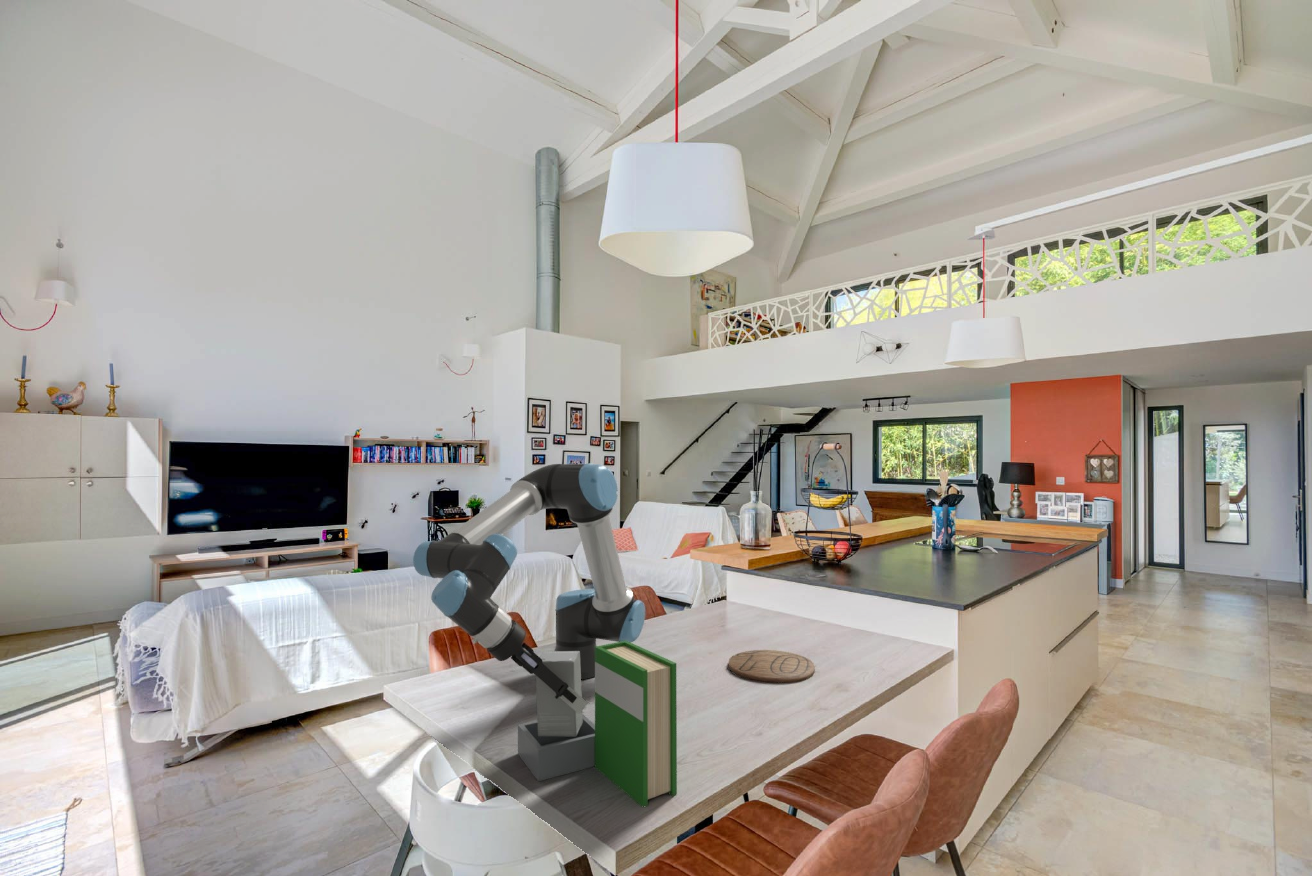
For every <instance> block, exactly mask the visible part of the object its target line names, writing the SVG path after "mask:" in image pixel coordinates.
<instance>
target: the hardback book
mask: <svg viewBox="0 0 1312 876" xmlns="http://www.w3.org/2000/svg"><path fill="white" fill-rule="evenodd" d="M677 716H678V715H677V662H674V661H672V660H670V659H668V658H665V657H664V656H662V655H659V654H657V653H654V652H652V651H650V650H647V649H645V648H644V647H641V646H640V645H637V644H634V643H633V642H628V641H622V642H613V643H612V642H611V643H608V644H603V645H597V646H596V647H595V677H594V725H595V766H594V768H595V769H596V770H598V771H599V772H600V773H601V774H603V775H604V776H605V778H608V779H609V780H610V781H611V782H612V783H613V784H615V785H616V786H617V787H618V788H619V789H620V790H622V791H623V792H624V793H626V795H628V796H629V797H630V798H632V799H633V800H634V801H635V802H636V803H638V804H639V805H640V806H641V807H642V806H643V807H642V808H645V807H644V806H646V807H648V806H647V805H649V804H648V803H649V801H648V800H650V799H653V798H656V797H658V796H661V795H664V794H667V793H668V792H669V793H670V794H669V793H668V794H669V795H671V796H672V795H674V796H677V795H676V794H678V784H677V783H678V779H677V778H678V777H677V776H678V775H677V774H678V771H677V770H678V769H677V768H678V766H677V764H678V761H677V760H678V759H677V757H678V755H677V754H678V753H677V751H678V750H677V749H678V747H677V746H678V744H677V743H678V739H677V737H678V736H677V734H678V733H677V730H678V729H677V728H678V725H677V723H678V722H677Z"/></svg>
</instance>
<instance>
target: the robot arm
mask: <svg viewBox="0 0 1312 876" xmlns="http://www.w3.org/2000/svg"><path fill="white" fill-rule="evenodd" d="M618 490H619V489H618V484H617V480H616V477H615V475H614V473H613V471H611V469H610V468H609V467H607V466H605V465H603V464H595V463H591V462H590V463H583V464H582V463H574V464H573V463H570V464H569V463H554V464H549V465H545V466H542V467H540V468H538V469H536V470H534V471H532V472H530V473H528V474H526V475H524V476H523V477H521V478H519V479H518V480H517V481H515V482H514V483H513V484H512V485H511V486H510V489H509V491H508V492H506V493H505V494H504V495H503V496H501V497H500V498H498V499H497V500H496V501H494V502H493V503H491V504H490V505H488V506H487V507H485V508H484V509H482V510H481V511H480V512H479V513H477V514H476V515H474V516H473V517H472V518H470V519H469V520H467V521H466V522H464V523H463V524H462V525H460V526H458V527H457V528H455V530H453V531H452V532H450V533H449V534H448V535H446V536H445V537H443V538H441V539H440V540H438V541H436V540H431V541H428V540H427V541H424V542H421V543H420V544H418V546H417V547H416V549H415V550H414V553H413V558H412V559H413V560H412V563H413V567H414V570H415V572H416V573H417V574H419V575H421V576H422V577H423V576H424V577H429V578H433V579H441V580H440V581H439V582H438V583H437V584H436V586H435V587H434V588H433V590H432V593H431V597H430V598H431V601H432V603H433V604H434V605H435V606H436V608H437V609H438V610H439V611H440V612H441V613H443V615H444V616H445V617H447V618H449V619H450V620H451V621H452V622H453V623H455V624H456V625H457V626H458V627H459V628H461V630H463V631H464V632H465V633H467V635H469V637H471V638H472V640H471V642H472V644H475V645H476V644H477V643H478V644H479V645H480V646H482V648H484V649H486V651H487V653H489V654H490V655H492V656H493V657H494V658H495V659H496V660H497V661H499V662H504V661H507V660H508V659H511V660H512V661H513V662H514V663H515V664H517V666H519V667H520V668H521V667H522V668H523V669H524V670H525V671H527V672H528V673H529V674H530V675H533V674H534V675H535V677H536V676H537V677H538V678H540V679H541V680H542V681H543V682H544V683H545V684H546V685H548V686H549V687H550V688H551V689H552V690H553V691H554V692H555V693H556V696H555V698H556V699H558V697H560V698H561V699H562V700H563V701H564V702H566V703H567V704H568V705H569V706H570V707H571V708H572V709H574V710H575V711H576V712H577V713H578V714H579V715H580V713H581V712H582V713H583V711H584V710H585V708H586V707H587V706H588V704H589V702H588V701H586V700H585V698H584V697H583V696H582V697H581V696H580V695H579V694H577V693H576V692H575V691H574V690H573V689H572V688H571V687H570V686H568V684H567V683H565V682H563V681H562V680H561V679H560V678H559V677H558V676H556V675H555V674H554V673H553V672H552V671H551V670H550V669H549V668H547V667H546V666H545V665H544V664H543V663H542V659H541V658H540V655H538V654H537V653H535V651H534V649H533V648H532V647H530V646H529V645H528V644H527V643H526V642H524V641H525V638H526V635H527V634H526V630H525V628H523V627H522V626H521V625H520V624H519V623H518V622H517V621H515V620H514V619H512V616H511V615H510V614H509V613H508V612H506V611H505V610H504V609H503V608H502V607H501V606H500V605H498V604H497V603H496V602H495V601H494V600H493V599H492V596H493V594H494V592H496V590H497V588H498V587H499V586H500V584H501V582H502V581H503V579H504V578H505V576H506V575H507V573H508V572H509V571H510V570H511V569H512V565H513V563H514V562H515V560H516V558H517V555H518V548H517V547H516V546H515V543H514V542H513V541H512V540H511V539H510V538H508V536H507V537H506V536H505V535H504V534H507V532H508V531H510V530H511V529H512V528H514V527H515V526H516V525H517V524H519V523H520V522H521V521H523V520H524V519H525V518H527V517H528V516H534V515H536V514H537V513H539V512H540V511H542V510H545V509H547V510H548V509H565V510H567V513H568V517H569V520H570V521H571V522H572V523H573V524H576V525H577V528H578V529H577V530H578V533H579V536H580V540H581V543H582V547H583V551H584V555H585V559H586V563H587V567H588V570H589V574H590V578H591V582H592V585H593V586H592V587H593V589H592V588H584V589H582V588H581V589H576V590H570V591H566V592H562V593H561V594H559V595H558V596H557V598H556V600H555V601H556V602H555V609H554V610H555V647H554V650H553V651H580V667H581V679H582V680H587V678H588V679H591V678H595V647H596V646H598V645H597V640H604V641H611V642H615V643H617V642H622V641H628V642H630V643H634V642H635V641H637V639H638V638H639V637H640V635H641V633H642V630H643V627H644V625H645V618H646V606H645V603H644V602H643V601H642V600H640V599H635V596H634V594H633V593H634V592H633V591H632V589H631V588H630V587H629V586H626V582H625V579H624V578H625V577H624V574H623V570H622V565H621V561H620V557H619V553H618V549H617V545H616V541H615V535H614V533H613V532H614V531H613V528H612V522H611V519H610V515H611V513H612V512H613V511H614V510H613V509H614V507H615V506H616V502H617V500H618V494H617V492H618Z"/></svg>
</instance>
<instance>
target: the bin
mask: <svg viewBox="0 0 1312 876" xmlns="http://www.w3.org/2000/svg"><path fill="white" fill-rule="evenodd" d="M582 716H583V723H582V725H581V727H580V729H579V731H578V734H577V736H576V737H554V736H538V722H537V720H533V721H528V722H524V723H520V724H518V725H517V755H518V756H519V757H520V759H521V760H522V761H523V763H524V764H525V765H526V767H527V768H528V770H529V771H530V772H531V774H532V775H533V777H534V778H535V779H536V781H537V782H541V781H545V780H549V779H551V778H556V777H560V776H564V775H567V774H571V773H575V772H577V771H581V770H586V769H590V768H592V767H595V723H593V721H591V720H590V719H589V718H588V717H587V716H586V715H585V714H583V713H582Z"/></svg>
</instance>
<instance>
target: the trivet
mask: <svg viewBox="0 0 1312 876" xmlns="http://www.w3.org/2000/svg"><path fill="white" fill-rule="evenodd" d="M815 667H816V666H815V663H814V662H813V661H812V660H811V659H809V658H807V657H805V656H804V655H800V654H798V653H794V652H789V651H783V650H774V649H754V650H747V651H746V650H745V651H742V652H739V653H736V654H733V655H731V657H730V658H729V659H728V669H729V671H730V670H731V671H732V672H733V673H732V672H731V671H730V672H731V673H732V674H734V675H735V674H736V675H735V676H737V677H739V676H740V677H739V678H742V679H745V680H748V681H752V682H759V683H764V684H776V685H777V684H791V683H799V682H803V681H806V680H808V679H810V678H812V677H813V676H814V674H815V672H816V671H815V670H816V669H815Z"/></svg>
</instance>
